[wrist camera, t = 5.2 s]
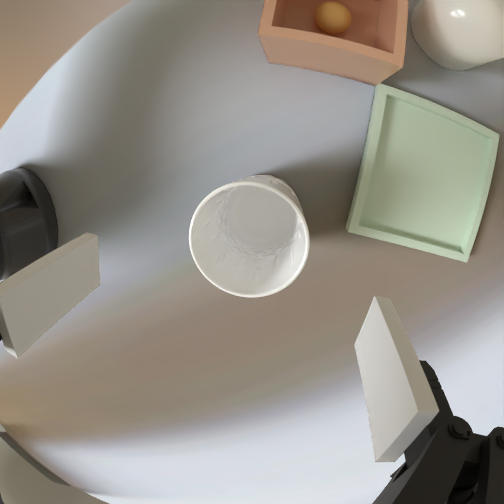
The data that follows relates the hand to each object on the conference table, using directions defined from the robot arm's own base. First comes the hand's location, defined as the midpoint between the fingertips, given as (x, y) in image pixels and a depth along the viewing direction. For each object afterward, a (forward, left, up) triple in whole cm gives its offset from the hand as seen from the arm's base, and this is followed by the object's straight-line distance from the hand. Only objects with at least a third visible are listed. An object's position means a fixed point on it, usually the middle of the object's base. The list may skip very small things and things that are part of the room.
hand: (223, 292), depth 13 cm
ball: (+3, +19, -14) cm, 24 cm away
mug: (+15, +24, -17) cm, 33 cm away
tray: (+15, +7, -17) cm, 23 cm away
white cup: (0, 0, -17) cm, 17 cm away
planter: (+3, +19, -17) cm, 25 cm away
